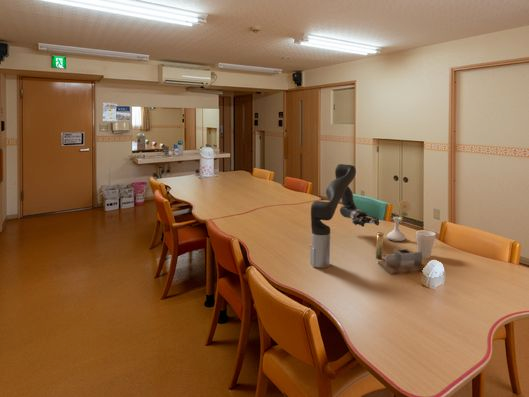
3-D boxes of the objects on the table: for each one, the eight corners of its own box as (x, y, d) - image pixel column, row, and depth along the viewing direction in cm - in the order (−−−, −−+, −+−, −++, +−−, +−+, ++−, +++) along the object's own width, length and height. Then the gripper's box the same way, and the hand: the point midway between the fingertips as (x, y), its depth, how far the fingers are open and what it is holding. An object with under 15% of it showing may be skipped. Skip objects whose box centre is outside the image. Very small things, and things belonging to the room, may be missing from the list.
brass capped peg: (377, 259, 192) (378, 234, 189) (374, 257, 196) (375, 232, 193) (383, 259, 193) (385, 234, 190) (380, 256, 196) (381, 232, 194)
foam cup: (436, 255, 197) (438, 232, 194) (430, 260, 190) (432, 236, 187) (418, 251, 203) (420, 229, 200) (411, 256, 196) (413, 233, 194)
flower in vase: (387, 242, 219) (390, 201, 214) (384, 236, 230) (386, 197, 225) (410, 243, 217) (413, 202, 212) (406, 237, 228) (409, 198, 223)
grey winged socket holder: (389, 269, 177) (389, 255, 175) (382, 263, 183) (382, 250, 182) (425, 266, 180) (426, 252, 178) (417, 260, 186) (417, 247, 185)
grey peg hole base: (391, 275, 174) (391, 272, 173) (377, 263, 187) (378, 261, 187) (430, 271, 177) (430, 268, 176) (413, 260, 190) (414, 258, 190)
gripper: (347, 211, 216) (359, 218, 200) (370, 209, 218) (383, 217, 202) (347, 223, 217) (358, 231, 202) (369, 221, 220) (382, 229, 204)
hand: (371, 224), depth 202 cm, fingers open, 8 cm apart
